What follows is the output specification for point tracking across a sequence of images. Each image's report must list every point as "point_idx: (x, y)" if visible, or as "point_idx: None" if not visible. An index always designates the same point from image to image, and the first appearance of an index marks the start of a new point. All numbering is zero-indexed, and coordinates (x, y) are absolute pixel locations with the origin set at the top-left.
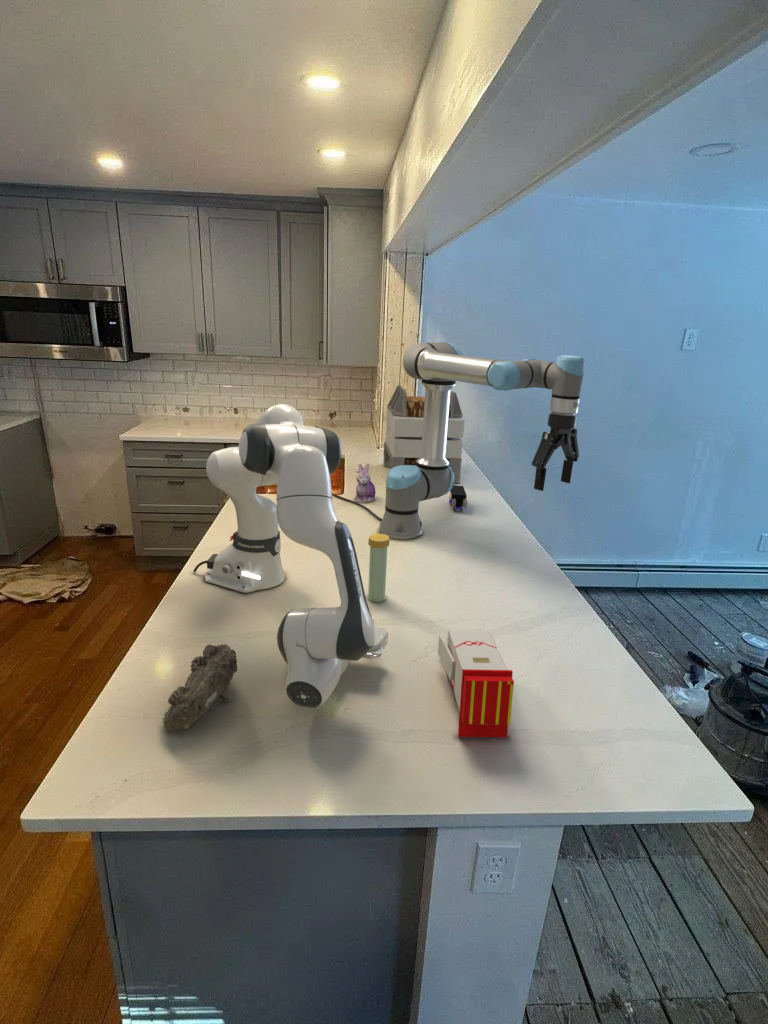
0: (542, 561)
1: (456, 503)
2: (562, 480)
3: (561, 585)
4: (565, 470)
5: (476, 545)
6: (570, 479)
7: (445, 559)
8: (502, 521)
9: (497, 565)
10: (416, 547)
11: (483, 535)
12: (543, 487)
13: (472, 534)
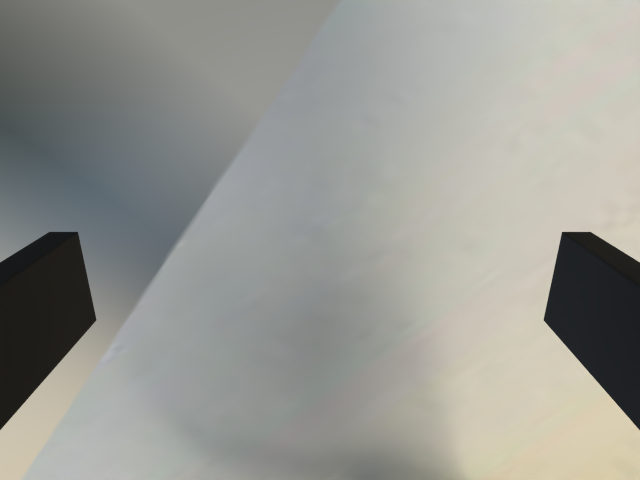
0: (231, 181)
1: None
2: (87, 308)
3: (345, 13)
4: (6, 368)
5: (317, 376)
6: (23, 248)
7: (480, 362)
8: (87, 445)
9: (389, 250)
10: (475, 451)
11: (235, 410)
12: (589, 244)
13: (259, 430)
